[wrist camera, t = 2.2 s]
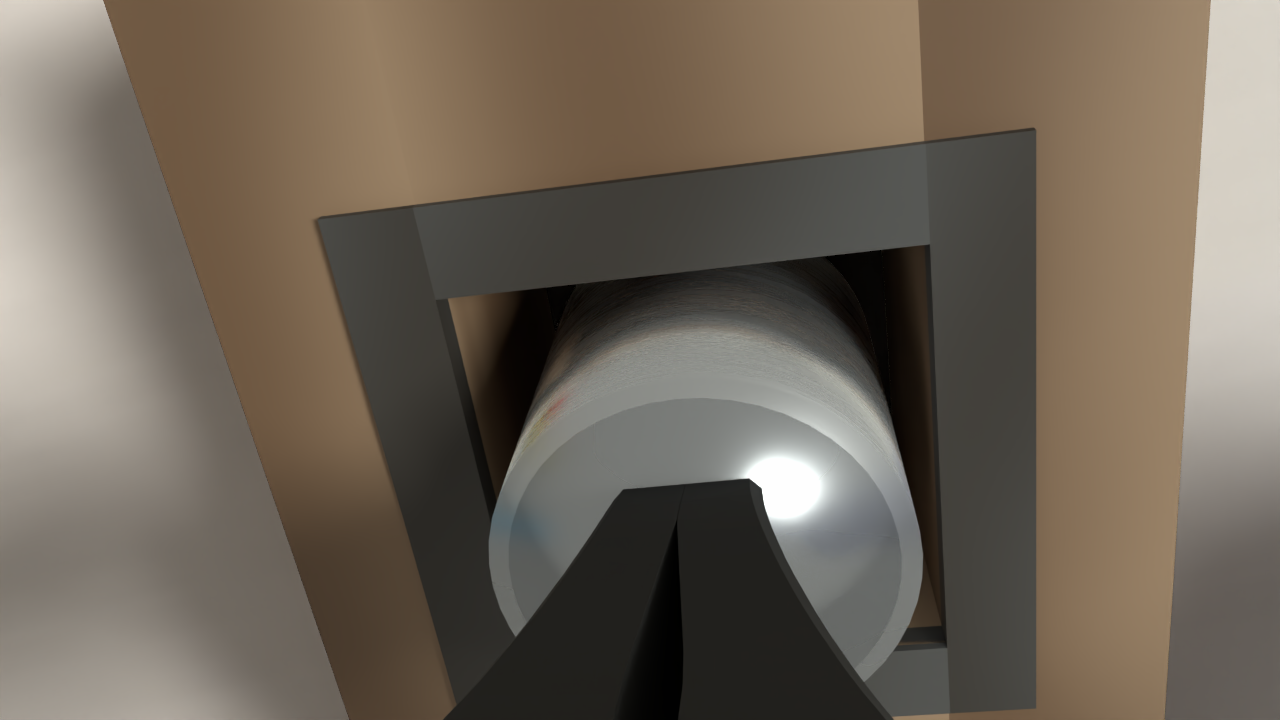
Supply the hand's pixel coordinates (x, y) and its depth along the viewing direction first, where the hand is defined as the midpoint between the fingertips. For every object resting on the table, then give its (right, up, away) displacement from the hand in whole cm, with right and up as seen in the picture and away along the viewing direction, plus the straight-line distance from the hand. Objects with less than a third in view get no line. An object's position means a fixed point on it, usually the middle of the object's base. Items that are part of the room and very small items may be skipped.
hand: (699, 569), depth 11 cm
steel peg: (0, +2, +5) cm, 5 cm away
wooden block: (+1, -3, +8) cm, 9 cm away
